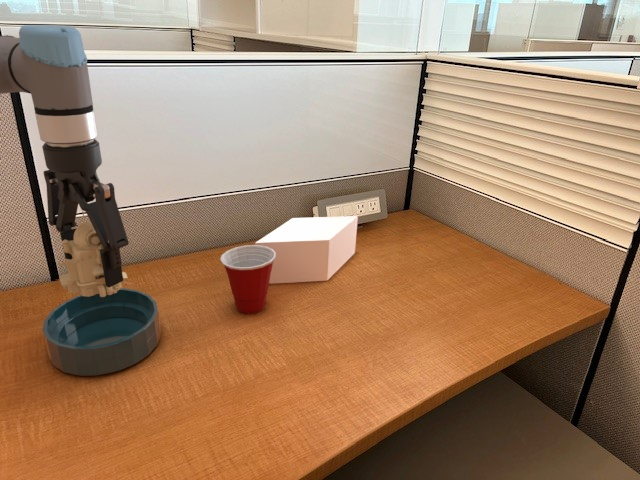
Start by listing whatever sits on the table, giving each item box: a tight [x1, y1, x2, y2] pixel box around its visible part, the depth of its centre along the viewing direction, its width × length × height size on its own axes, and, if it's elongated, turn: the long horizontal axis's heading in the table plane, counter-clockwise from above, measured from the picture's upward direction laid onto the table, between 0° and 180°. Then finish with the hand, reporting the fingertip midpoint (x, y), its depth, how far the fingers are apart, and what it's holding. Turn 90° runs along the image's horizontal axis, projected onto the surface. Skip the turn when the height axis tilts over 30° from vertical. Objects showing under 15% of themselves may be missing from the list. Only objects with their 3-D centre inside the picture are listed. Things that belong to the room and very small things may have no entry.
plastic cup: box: [220, 244, 276, 315], centre depth 96 cm, size 11×11×12 cm
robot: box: [57, 210, 134, 297], centre depth 77 cm, size 10×8×15 cm
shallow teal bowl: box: [41, 287, 162, 377], centre depth 84 cm, size 18×18×6 cm
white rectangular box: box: [254, 215, 359, 285], centre depth 112 cm, size 14×29×10 cm, turn 127°
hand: (94, 274), depth 80 cm, fingers closed on robot, 9 cm apart
